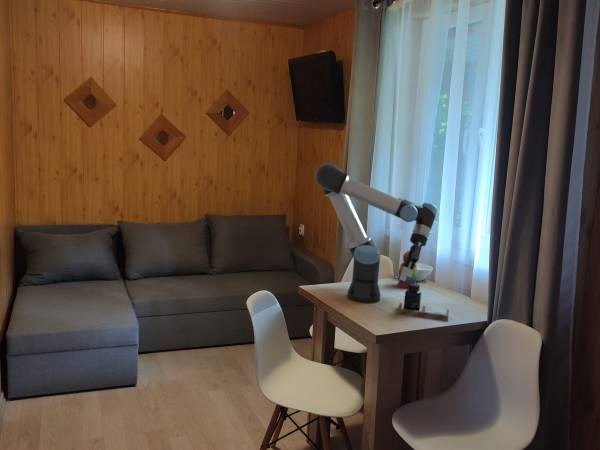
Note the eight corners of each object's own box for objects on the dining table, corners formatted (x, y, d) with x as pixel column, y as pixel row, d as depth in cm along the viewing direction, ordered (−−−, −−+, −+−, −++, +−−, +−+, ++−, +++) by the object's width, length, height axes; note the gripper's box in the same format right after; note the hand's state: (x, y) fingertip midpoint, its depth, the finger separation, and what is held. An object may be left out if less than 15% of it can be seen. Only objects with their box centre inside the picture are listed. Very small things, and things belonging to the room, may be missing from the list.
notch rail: (397, 313, 249) (397, 308, 249) (399, 307, 258) (399, 302, 258) (447, 320, 244) (448, 316, 244) (448, 314, 253) (448, 309, 253)
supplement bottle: (415, 315, 248) (418, 287, 246) (400, 311, 252) (403, 284, 250) (421, 311, 254) (424, 284, 252) (406, 308, 258) (409, 281, 256)
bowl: (431, 284, 302) (433, 271, 301) (400, 281, 305) (401, 267, 304) (431, 277, 318) (432, 264, 317) (401, 274, 321) (402, 261, 320)
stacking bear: (419, 290, 290) (423, 254, 287) (398, 288, 290) (402, 253, 287) (415, 284, 300) (418, 250, 297) (395, 283, 300) (399, 248, 297)
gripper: (434, 233, 259) (419, 277, 254) (421, 243, 283) (407, 284, 278) (418, 226, 259) (403, 271, 254) (406, 238, 283) (392, 278, 279)
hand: (405, 278), depth 266 cm, fingers open, 13 cm apart
